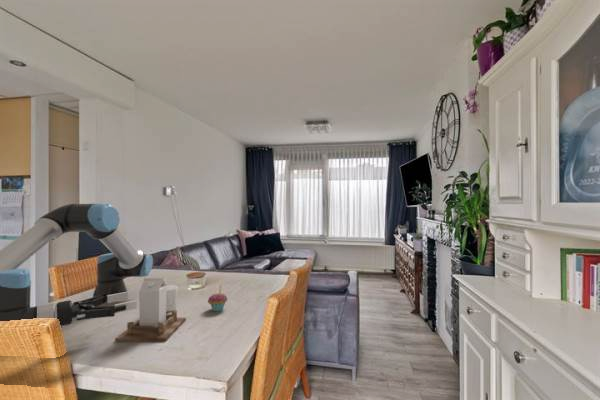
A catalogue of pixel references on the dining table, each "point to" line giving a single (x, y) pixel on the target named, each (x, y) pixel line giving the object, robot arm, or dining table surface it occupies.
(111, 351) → the dining table surface
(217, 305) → the cupcake
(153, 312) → the milk carton
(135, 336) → the walnut stand
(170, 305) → the white cup
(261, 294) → the dining table surface
